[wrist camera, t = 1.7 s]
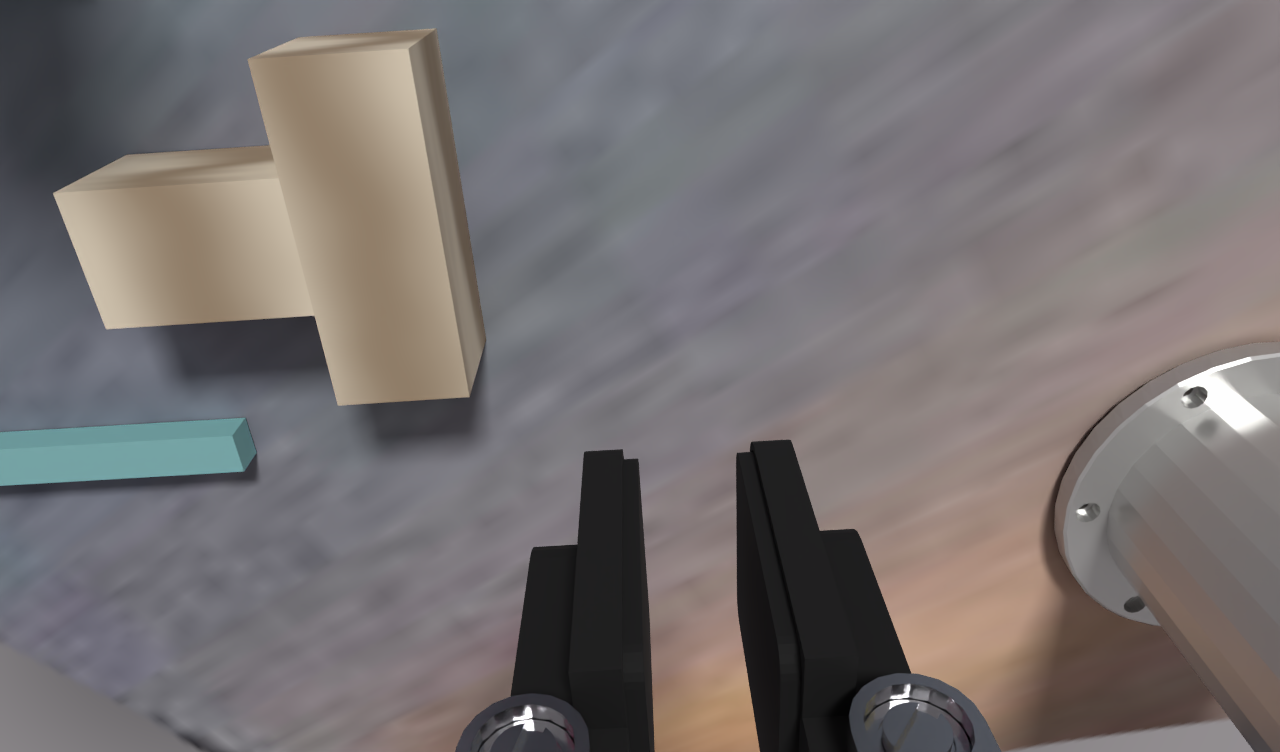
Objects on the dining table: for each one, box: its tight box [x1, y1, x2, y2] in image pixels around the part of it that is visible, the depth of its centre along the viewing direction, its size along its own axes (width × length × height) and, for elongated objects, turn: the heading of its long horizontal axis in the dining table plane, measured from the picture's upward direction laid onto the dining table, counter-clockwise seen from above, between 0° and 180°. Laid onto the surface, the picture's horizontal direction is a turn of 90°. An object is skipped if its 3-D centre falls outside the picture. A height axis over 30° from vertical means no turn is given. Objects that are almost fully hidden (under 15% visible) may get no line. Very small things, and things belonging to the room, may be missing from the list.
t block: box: [53, 29, 486, 406], centre depth 26 cm, size 10×10×4 cm
